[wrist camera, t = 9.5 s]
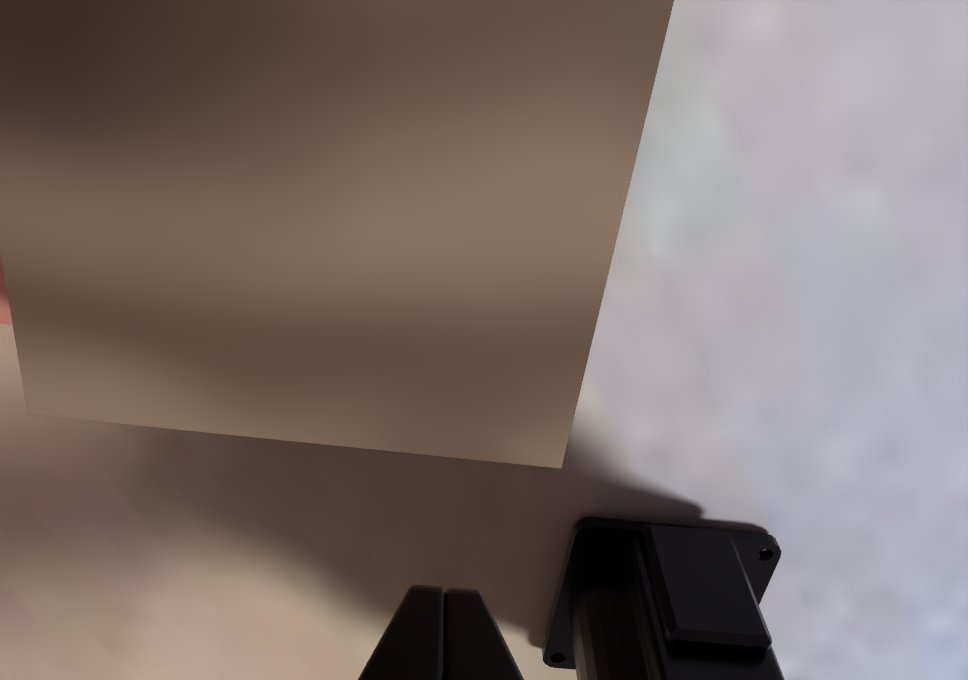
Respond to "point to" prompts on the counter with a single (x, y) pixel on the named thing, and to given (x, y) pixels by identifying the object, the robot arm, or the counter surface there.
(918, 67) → the counter surface
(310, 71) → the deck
